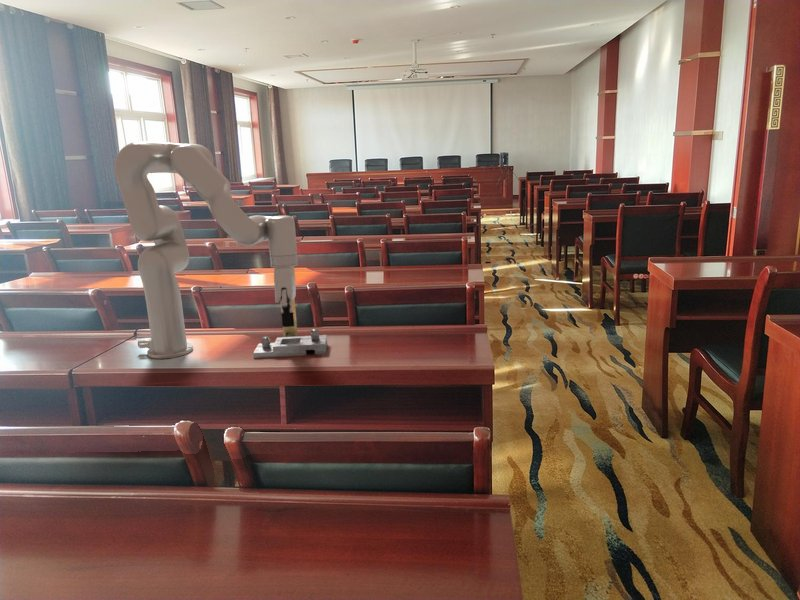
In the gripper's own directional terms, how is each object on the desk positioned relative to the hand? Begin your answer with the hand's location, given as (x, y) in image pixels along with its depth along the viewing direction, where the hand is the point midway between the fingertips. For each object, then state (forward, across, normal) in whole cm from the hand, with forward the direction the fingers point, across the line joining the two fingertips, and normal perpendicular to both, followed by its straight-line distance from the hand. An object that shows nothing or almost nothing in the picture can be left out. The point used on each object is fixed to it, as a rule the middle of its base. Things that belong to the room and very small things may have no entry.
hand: (289, 323), depth 171 cm
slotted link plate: (+8, 0, -3) cm, 9 cm away
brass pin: (+3, 0, 0) cm, 3 cm away
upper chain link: (+8, 0, +3) cm, 9 cm away
